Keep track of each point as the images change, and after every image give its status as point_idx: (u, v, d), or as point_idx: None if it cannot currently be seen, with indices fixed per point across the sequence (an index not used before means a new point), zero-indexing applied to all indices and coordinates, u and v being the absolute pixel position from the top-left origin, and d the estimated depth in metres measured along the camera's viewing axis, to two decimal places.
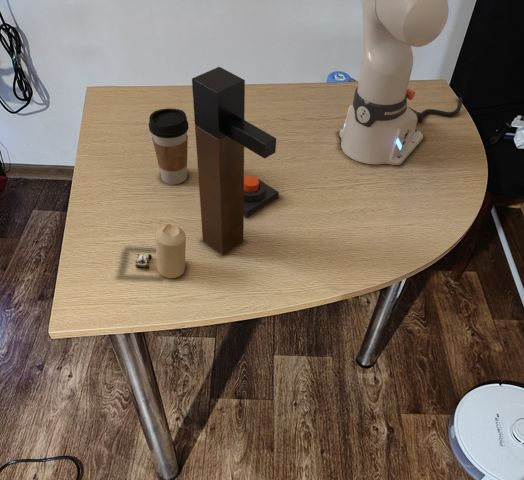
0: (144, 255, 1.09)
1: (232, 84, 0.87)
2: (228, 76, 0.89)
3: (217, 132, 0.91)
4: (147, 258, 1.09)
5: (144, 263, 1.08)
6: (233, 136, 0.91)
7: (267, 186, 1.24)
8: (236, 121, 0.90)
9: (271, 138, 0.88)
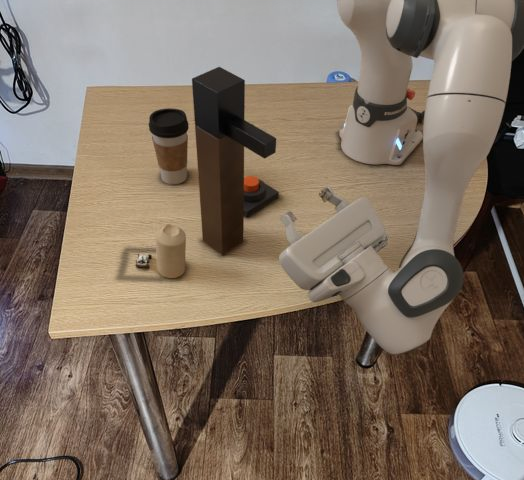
0: (144, 255, 1.09)
1: (232, 84, 0.87)
2: (228, 76, 0.89)
3: (217, 132, 0.91)
4: (147, 258, 1.09)
5: (144, 263, 1.08)
6: (233, 136, 0.91)
7: (267, 186, 1.24)
8: (236, 121, 0.90)
9: (271, 138, 0.88)
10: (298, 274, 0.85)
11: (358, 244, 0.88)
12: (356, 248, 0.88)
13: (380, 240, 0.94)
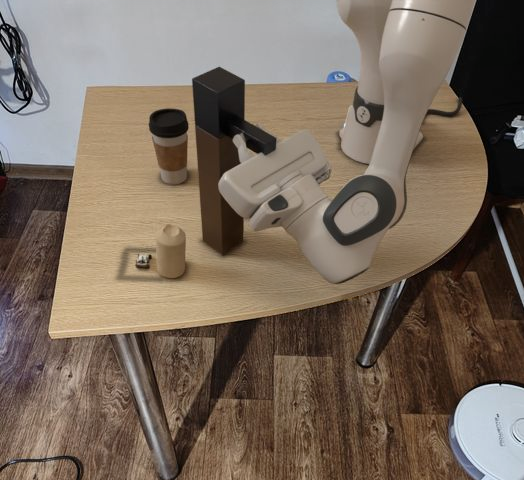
0: (144, 255, 1.09)
1: (232, 84, 0.87)
2: (228, 76, 0.89)
3: (217, 132, 0.91)
4: (147, 258, 1.09)
5: (144, 263, 1.08)
6: (233, 136, 0.91)
7: None
8: (236, 121, 0.90)
9: (271, 138, 0.88)
10: (236, 199, 0.86)
11: (298, 172, 0.89)
12: (295, 176, 0.88)
13: (323, 172, 0.94)
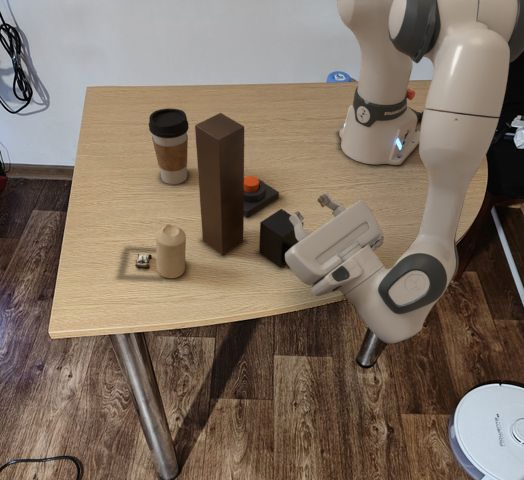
0: (144, 255, 1.09)
1: None
2: None
3: (279, 262, 1.10)
4: (147, 258, 1.09)
5: (144, 263, 1.08)
6: None
7: (267, 186, 1.24)
8: None
9: None
10: (302, 270, 0.94)
11: (356, 243, 0.97)
12: (354, 247, 0.97)
13: (376, 240, 1.03)
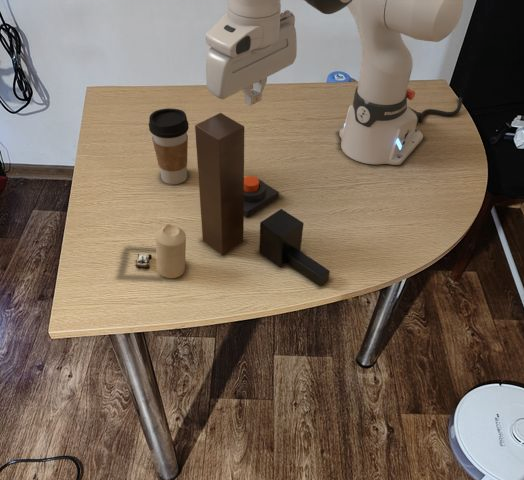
0: (144, 255, 1.09)
1: (294, 228, 1.06)
2: (289, 219, 1.08)
3: (279, 262, 1.10)
4: (147, 258, 1.09)
5: (144, 263, 1.08)
6: (292, 265, 1.10)
7: (267, 186, 1.24)
8: (295, 254, 1.10)
9: (325, 271, 1.07)
10: (211, 72, 0.94)
11: None
12: None
13: None
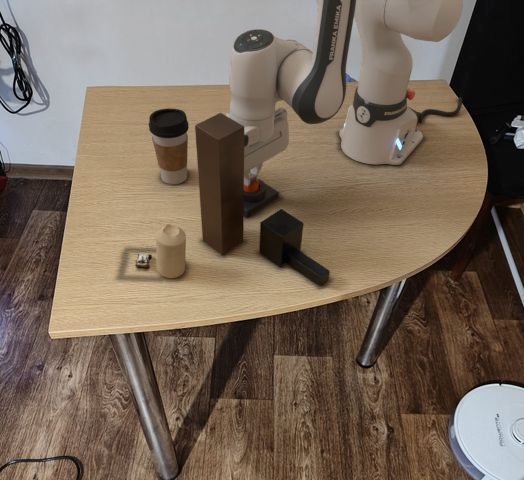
0: (144, 255, 1.09)
1: (294, 228, 1.06)
2: (289, 219, 1.08)
3: (279, 262, 1.10)
4: (147, 258, 1.09)
5: (144, 263, 1.08)
6: (292, 265, 1.10)
7: (267, 186, 1.24)
8: (295, 254, 1.10)
9: (325, 271, 1.07)
10: None
11: None
12: None
13: None
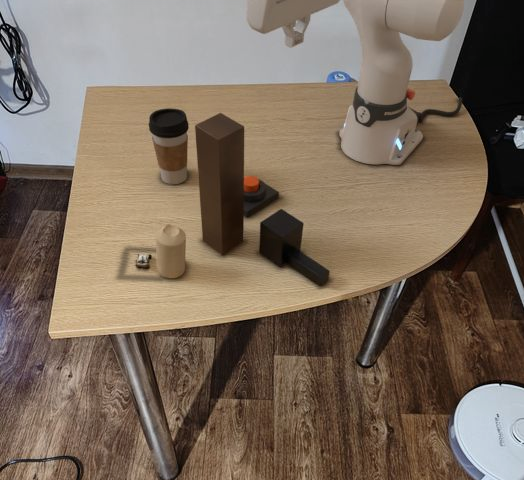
0: (144, 255, 1.09)
1: (294, 228, 1.06)
2: (289, 219, 1.08)
3: (279, 262, 1.10)
4: (147, 258, 1.09)
5: (144, 263, 1.08)
6: (292, 265, 1.10)
7: (267, 186, 1.24)
8: (295, 254, 1.10)
9: (325, 271, 1.07)
10: (253, 1, 0.85)
11: None
12: None
13: None
